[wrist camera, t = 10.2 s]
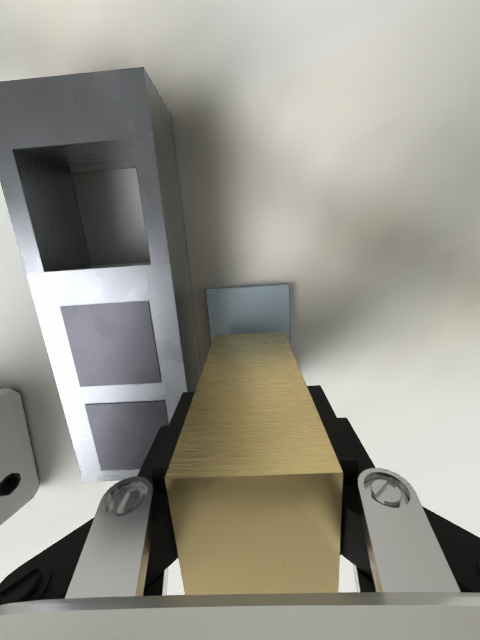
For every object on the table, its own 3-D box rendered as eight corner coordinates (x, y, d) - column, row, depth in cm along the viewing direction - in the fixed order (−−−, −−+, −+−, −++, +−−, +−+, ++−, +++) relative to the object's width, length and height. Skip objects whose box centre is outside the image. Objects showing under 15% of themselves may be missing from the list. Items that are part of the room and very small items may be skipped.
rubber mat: (207, 289, 17) (205, 290, 16) (287, 283, 17) (289, 285, 16) (219, 413, 19) (219, 419, 19) (290, 410, 19) (291, 415, 19)
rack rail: (44, 125, 15) (-28, 83, 11) (171, 113, 15) (142, 66, 11) (114, 436, 20) (82, 482, 16) (208, 432, 20) (198, 478, 16)
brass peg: (214, 335, 16) (164, 478, 6) (284, 331, 16) (343, 472, 6) (220, 396, 17) (185, 599, 7) (285, 393, 17) (337, 597, 7)
